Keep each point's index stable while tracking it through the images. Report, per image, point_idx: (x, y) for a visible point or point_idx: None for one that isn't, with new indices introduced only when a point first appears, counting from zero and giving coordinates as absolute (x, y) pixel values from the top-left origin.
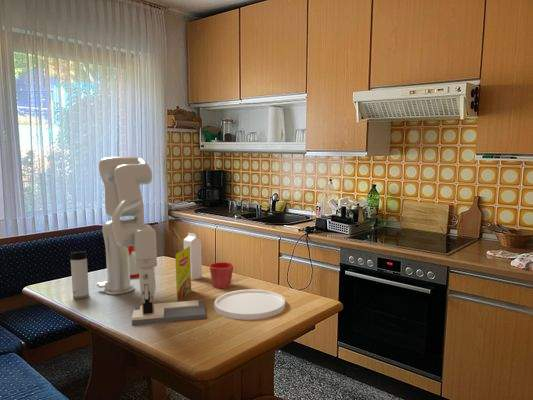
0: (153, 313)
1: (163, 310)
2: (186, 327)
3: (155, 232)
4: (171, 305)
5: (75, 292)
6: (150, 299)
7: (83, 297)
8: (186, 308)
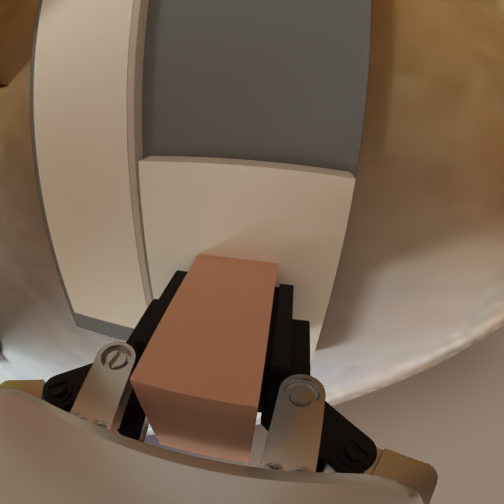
0: (277, 266)
1: (222, 168)
2: (492, 43)
3: None
4: (84, 97)
5: None
6: (318, 424)
7: None
8: None
